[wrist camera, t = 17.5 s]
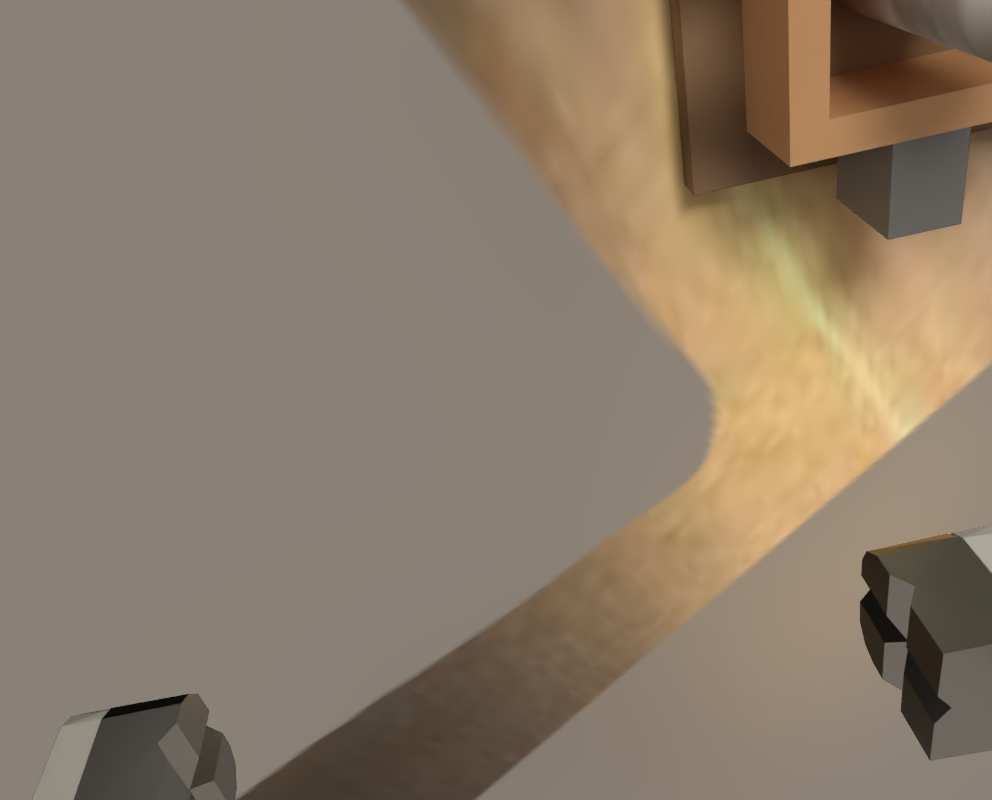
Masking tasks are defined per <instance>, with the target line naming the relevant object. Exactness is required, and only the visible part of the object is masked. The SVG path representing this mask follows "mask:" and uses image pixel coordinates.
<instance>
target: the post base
mask: <svg viewBox="0 0 992 800" xmlns="http://www.w3.org/2000/svg"><path fill="white" fill-rule="evenodd" d="M670 8H671V20H672V32H673V45H674V57H675V69H676V81H677V93H678V105H679V118H680V130H681V142H682V154H683V166H684V178H685V185H686V186H687V187H688V189H689V190H690V191H691V192H692V193H693V195H698V194H702V193H707V192H711V191H716V190H720V189H724V188H729V187H733V186H738V185H742V184H747V183H751V182H756V181H760V180H764V179H769V178H773V177H778V176H782V175H787V174H791V173H795V172H800V171H804V170H809V169H813V168H818V167H822V166H827V165H831V164H835V163H837V157H833V158H829V159H824V160H820V161H815V162H811V163H806V164H802V165H798V166H793V167H789V166H788V165H787V164H786V163H785V162H783V161H782V160H781V159H780V158H779V157H777V156H776V155H775V154H774V153H772V152H771V151H770V150H769V149H768V148H766V147H765V146H764V145H763V144H762V143H760V142H759V141H758V140H757V139H755V138H754V137H753V136H752V135H751V134H749V133H748V132H747V122H746V96H745V71H744V45H743V20H742V0H670ZM953 49H956V50H959V51H962V52H964V53H967V54H970V55H973V56H975V57H978V58H981V59H984V60H986V61H989V62H992V0H831V27H830V77H834V76H838V75H843V74H847V73H851V72H856V71H860V70H865V69H869V68H873V67H878V66H882V65H887V64H891V63H895V62H900V61H904V60H909V59H913V58H917V57H922V56H926V55H931V54H935V53H939V52H944V51H948V50H953ZM991 128H992V122H989V123H985V124H980V125H976V126H971V132H970V133H973V132H978V131H982V130H987V129H991Z"/></svg>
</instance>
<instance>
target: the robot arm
mask: <svg viewBox="0 0 992 800" xmlns="http://www.w3.org/2000/svg"><path fill="white" fill-rule="evenodd" d="M861 575H862V577H863V579H864V580H865V582H866V583H867V585H868V586H869V588H870V590H869V591H868V593H867V594H866V595H865V596H864V598H863V599H862V600H861V601H860V623H861V628H862V632H863V636H864V641H865V644H866V647H867V649H868V652H869V654H870V656H871V659H872V661H873V663H874V665H875V667H876V668H877V670H878V672H879V674H880V675H881V677H882V679H883V680H885V681H887V682H888V683H890V684H892V685H894V686H895V687H897V688H899V689H900V690H902V703H901V712H902V714H903V715H904V717H905V719H906V721H907V722H908V724H909V725H910V727H911V729H912V731H913V732H914V734H915V736H916V738H917V739H918V741H919V743H920V744H921V746H922V748H923V750H924V751H925V753H926V755H927V756H928V758H929V760H937V759H943V758H949V757H954V756H960V755H966V754H972V753H978V752H983V751H989V750H992V524H991V525H986V526H982V527H977V528H972V529H968V530H963V531H958V532H954V533H951V534H943V535H938V536H933V537H929V538H924V539H920V540H915V541H911V542H907V543H902V544H898V545H893V546H888V547H884V548H879V549H875V550H871V551H867V552H866V554H865V555H864V557H863V559H862V573H861ZM208 714H209V710H208V708H207V707H206V705H205V704H204V702H203V701H202V699H201V698H200V696H199V695H198V694H186V695H180V696H176V697H170V698H164V699H158V700H153V701H148V702H142V703H136V704H131V705H125V706H120V707H115V708H111V709H106V710H101V711H96V712H90V713H85V714H80V715H75V716H71V717H70V718H69V719H68V720H67V721H66V722H65V723H64V724H63V725H62V727H61V728H60V730H59V732H58V735H57V737H56V740H55V742H54V745H53V747H52V750H51V752H50V755H49V758H48V760H47V763H46V765H45V768H44V770H43V773H42V775H41V778H40V780H39V783H38V785H37V788H36V790H35V793H34V796H33V798H32V800H235V795H236V789H237V785H236V766H235V760H234V757H233V754H232V751H231V747H230V745H229V743H228V741H227V740H226V738H225V736H224V735H223V733H221V732H219V731H217V730H214V729H212V728H210V727H208V726H206V723H207V719H208Z"/></svg>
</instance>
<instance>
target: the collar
mask: <svg viewBox="0 0 992 800" xmlns="http://www.w3.org/2000/svg"><path fill="white" fill-rule="evenodd" d="M742 20H743V45H744V71H745V96H746V122H747V132H748V133H749V134H751V135H752V136H753V137H754V138H755V139H757V140H758V141H759V142H760V143H762V144H763V145H764V146H765V147H766V148H768V149H769V150H770V151H771V152H772V153H774V154H775V155H776V156H777V157H779V158H780V159H781V160H782V161H783V162H785V163H786V164H787V165H788V166H789V167H793V166H798V165H802V164H806V163H811V162H815V161H820V160H824V159H829V158H833V157H837V199H838V200H839V201H841V202H842V203H843V204H844V205H846V206H847V207H848V208H849V209H851V210H852V211H853V212H854V213H855V214H857V215H858V216H859V217H860V218H862V219H863V220H864V221H865V222H867V223H868V224H869V225H870V226H872V227H873V228H874V229H875V230H877V231H878V232H879V233H880V234H882V235H883V236H884V237H885V238H886V239H888V240H889V239H894V238H899V237H903V236H908V235H912V234H917V233H921V232H926V231H930V230H935V229H939V228H944V227H948V226H953V225H957V224H961V219H962V210H963V200H964V190H965V180H966V171H967V161H968V151H969V141H970V132H971V126H976V125H980V124H985V123H989V122H992V62H989V61H986V60H984V59H981V58H978V57H975V56H973V55H970V54H967V53H964V52H962V51H959V50H956V49H953V50H948V51H944V52H939V53H935V54H931V55H926V56H922V57H917V58H913V59H909V60H904V61H900V62H895V63H891V64H887V65H882V66H878V67H873V68H869V69H865V70H860V71H856V72H851V73H847V74H843V75H838V76H834V77H830V27H831V0H742Z"/></svg>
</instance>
